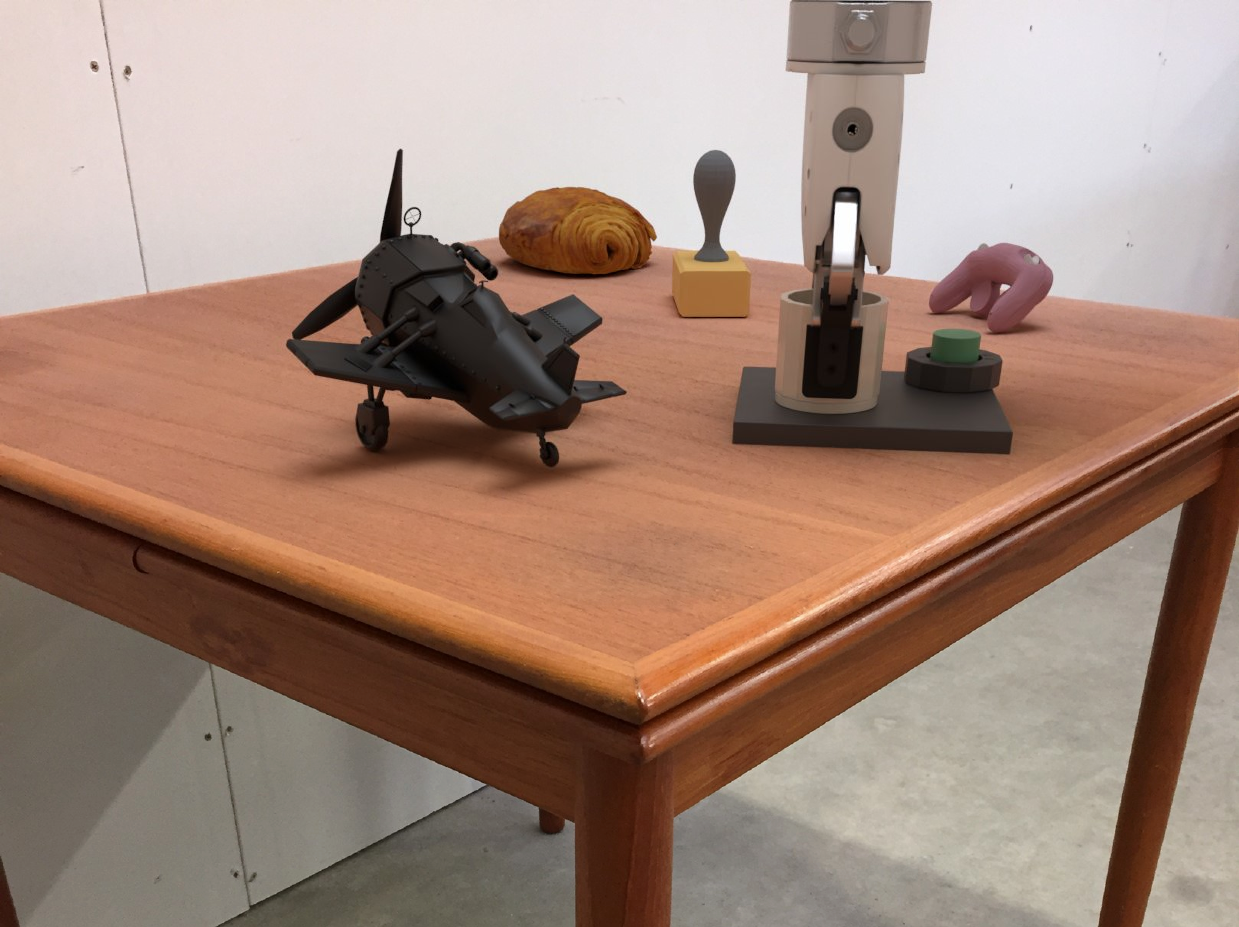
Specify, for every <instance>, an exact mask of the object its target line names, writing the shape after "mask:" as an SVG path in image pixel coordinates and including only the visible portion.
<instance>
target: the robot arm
mask: <svg viewBox="0 0 1239 927" xmlns="http://www.w3.org/2000/svg"><path fill="white" fill-rule="evenodd" d="M788 11H789V12H788V26H787V41H786V60H785V72H788V73H790V72H792V73H796V74H797V73H798V74H807V75H806V77H807V78H806V92H805V106H804V108H805V109H804V121H803V137H802V138H803V142H802V160H801V186H800V189H801V190H800V192H801V193H800V194H801V195H800V198H801V199H800V217H801V218H800V219H801V220H800V221H801V241H802V242H801V244H802V254H803V255H802V256H803V266H804V267H805V268H806V269H807V270H808V271H809V272H810V273H812V280H811V288H814V293H813V307H812V321H811V324H807V328H806V341H805V354H804V367H803V380H802V394H803V395H804V396H805V397H807V398H830V399H853V398H854V397H855V396H856V395H857V388H858V378H859V367H860V357H861V347H862V336H863V326H860V320H861V308H862V295H863V290H864V281H865V280H864V279H865V274H866V271H865V267H866V258H867V261H868V264H869V267H875V269H876V274H877V275H878V276H883V275H885V274H886V273H887V272H888V271H889V270H891V267H892V266H891V264H892V253H893V252H892V251H893V238H894V227H895V217H896V216H895V215H896V205H897V195H898V194H897V193H898V184H899V175H900V173H899V172H900V165H901V164H900V163H901V162H900V161H901V153H902V152H901V151H902V140H903V126H904V112H905V111H904V110H905V109H904V108H905V107H904V106H905V76H906V75H920V74H925V72H926V64H927V62H926V61H927V55H928V47H929V46H928V45H929V37H930V29H931V28H930V27H931V21H932V20H931V19H932V11H933V2H932V0H790V1H789V10H788ZM822 299H823V306H822ZM821 312H822V314H821Z"/></svg>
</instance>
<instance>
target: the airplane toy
mask: <svg viewBox="0 0 1239 927" xmlns="http://www.w3.org/2000/svg"><path fill="white" fill-rule="evenodd" d="M403 161H404V150H403V148H399V149H398V150H397V151H396V154H395V160H394V166H393V170H392V175H391V180H390V185H389V190H388V194H387V198H386V204H385V206H384V213H383V218H382V223H381V227H380V228H381V229H380V235H379V243H378V244H376V245H375V247H374V248H372V249H371V250H370V251H369V252H368V253H367V254H366V255H365V256H364V257H363V258H362V259H361V262H360V263H361V264H360V268H359V270H358V271H359V272H358V275H357V277H355V278H353V279H352V280H350V281H349V282H347V283H346V284H345V285H343V286H342V287H340V288H339V289H337V290H335V291H334V292H333V293H331V294H329V296H327V297H326V298H325V299H324V300H323V301H321V302H320V303H319V304H318V305H317V306H316V307H315V308H314V309H312V311H310V312H309V313H308V314H307V315H306V317H305V318H303V319H302V320H301V322H300V323H299V324H298V325H297V326H296V327H295V328H294V329H293V330H292V331H291V336H292V338H288V339H287V340H286V343H285V347H286V348H287V350H288V351H289V352H291V354H292V355H294V356H295V357H296V358H297V360H299V361H300V362H301V363H302V365H303V366H305V367H306V368H307V369H308V370H309V371H310V372H311V373H312V374H313V375H314V376H316V377H321V378H327V379H332V380H338V381H343V382H348V383H354V384H360V385H364V386H366V390H367V398H365V399H363V401H362V402H360V403H357V407H356V413H355V418H354V421H355V423H354V425H355V432H356V434H357V437H358V438H359V442H360V443H361V445H363V448H366V449H367V450H369V451H373V452H376V451H380V450H382V449H383V448H385V447H386V445H387V443H388V440H389V428H390V426H391V420H390V419H391V418H390V409H389V406H388V405H386V404H385V402H384V401H383V400H384V397H385V394H386V391H390V392H394V391H397V392H400V393H401V394H402V395H403V396H404V397H405V398H407V399H418V400H428V401H431V400H432V398H436V399H440V400H441V399H442V400H447V401H452V402H454V403H455V404H457V405H459V407H461V408H462V409H464V410H465V411H466V412H468V413H470V414H471V415H472V416H473V417H475V418H476V419H478V420H479V421H480V422H482V423H483V424H485V425H487V426H489V427H490V428H493V429H496V430H498V431H505V432H506V431H507V432H517V433H526V434H527V433H528V434H535V435H536V437H537V438H538V439H539V441H538V444H539V446H540V448H539V458H540V459H541V461H542V463H543V464H544V466H546V467H547V468H555V467H556V466H557V465H558V464H559V461H560V452H559V449H558V446H556V444H555V443H554V442H552V441H547V439H546V438H545V437H546V436H547V434H546V433H552V432H559V431H563V430H568V429H569V428H570V426H571V425H572V424H573V423H574V421H575V420H576V418H577V417H578V416H579V414H580V412H581V411H582V406H583V405H585V404H588V403H593V402H594V403H595V402H597V401H603V400H608V399H612V398H616V397H621V396H625V395H626V394H627V392H628V391H626V390H625V389H624V388H622V386H619V384H616V383H615V382H614V381H613V380H587V379H585V380H584V379H576V375H577V370H578V366H579V362H580V357H581V355H580V354H579V353H578V352H577V351H575V349H573V348H572V347H571V346H574V344H576V343H577V342H579V341H580V340H581V339H583V338H584V337H585V336H587V335H588V334H590V333H591V332H593V331H594V330H596V329H597V328H598V327H600V326H601V325H602V324H603V317H602V316H601V315H600V314H599V313H598V312H596V311H595V310H593V309H592V308H591V307H590V306H588V305H587V304H586V303H585V302H584V301H582V299H580V298H579V297H578V296H576V295H575V294H574V293H573V294H569V295H568V296H565V297H562V298H560V299H558V300H555V301H553V302H551V303H548V304H545V305H543V306H541V307H538V308H536V309H533V310H531V311H528V312H526V313H524V314H520V313H518V312H517V311H511V310H510V309H509V308H508V307H507V305H506V304H505V302H504V300H503V299H502V297H501V296H500V294H499V293H497V292H496V291H493V290H492V289H490V288H488V287H486V286H485V284H484V283H489V282H490V281H495V280H496V279H497V278H498V277H499V269H498V267H497V266H496V265H494V264H492V262H491V260H490V259H489V258H488V257H487V256H485V255H484V254H482V253H481V252H480V250H479V249H477V248H476V246H473V245H468V244H467V245H466V244H465V243H463V242H460V241H457V242H456V241H455V242H452V243H451V244H450V245H449V244H448V243H445V244H443V243H441V242H440V240H439V238H438V237H434V235H432V234H418V233H413V227H414V226H416V225H417V224H418V223H419V222H420V221H421V218H422V211H421V209H420V208H419V207H417V206H411V207H409V208H408V209H407V210H406V211H405V212H404V215H403V165H404V164H403ZM413 210H417V212H418V213H417V214H415V215H414V216H413V214H412V212H411V211H413ZM409 213H410V217H407V214H409ZM415 216H418V218H417V220H415V218H414V217H415ZM406 217H407V218H406ZM411 218H412V219H413V221H414V222H407V220H408V219H411ZM403 222H404V225H405V226H408V227H409V233H406V234H402V228H403V227H402V224H403ZM467 262H468V264H469V265H470V266H471V268H473V269H474V270H476V271H478V272H479V273H480V274H481V275H482V276H483V277H484V278H485V279H486V280H484V279H481V280H480V281H478V284H479V285H477V283H475V280H476V274H475V273H474V272H473V271H472V270H471V268H470V267H468V264H467ZM356 307H358V309H359V311H360V315H361V317H362V321H363V323H364V326H365V328H366V330H367V331H369V333H370V335H371V336H370V337H369V336H363V337H362V338H361V339H360V343H348V342H347V343H346V342H337V341H336V342H334V341H321V340H310V339H306V338H308V337H310V336H313V335H314V334H316V333H318V332H321V331H322V330H324V329H326V328H327V327H329V326H331V325H332V324H334V323H335V322H337V321H338V320H340V319H342V318H344V317H346V315H347V314H349V313H350V312H351V311H352V310H354V309H355V308H356ZM374 387H376V388H379V389H378V392H377V395H376V397H375V390H374Z"/></svg>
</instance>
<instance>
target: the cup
mask: <svg viewBox="0 0 1239 927" xmlns="http://www.w3.org/2000/svg"><path fill="white" fill-rule="evenodd" d="M813 293H814V288H812V287H809V288H800V289H793V290H789V291H786V292H784V293H781V294H780V300H779V317H778V331H777V332H778V333H777V347H776V348H777V350H776V365H775V367H776V379H775V396H774V399H775V401H776V403H778V404H779V405H781V406H783V407H786V408H789V409H792V410H797V411H802V412H809V413H819V414H847V413H856V412H862V411H866V410H869V409H872V408H874V407H875V406H876V405H877V403H878V395H879V391H880V382H881V372H882V371H883V360H884V350H885V343H886V342H885V341H886V340H885V339H886V332H887V323H888V313H889V297H887V296H886V295H883V294H881V293H879V292H874V291H869V290H865V289H863V295H862V308H861V320H860V326H863V336H862V347H861V357H860V367H859V378H858V388H857V395H856V396H855V397H854V398H853V399H830V398H807V397H805V396H804V395H803V394H802V380H803V367H804V354H805V341H806V328H807V324H811V321H812V307H813ZM822 306H823V299H822ZM821 314H822V312H821Z"/></svg>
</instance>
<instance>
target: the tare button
mask: <svg viewBox="0 0 1239 927" xmlns="http://www.w3.org/2000/svg"><path fill="white" fill-rule="evenodd" d="M981 341H982V334H981V333H980V332H978V331H975V330H972V329H965V328H940V329H937V330H934V331H933V332H932V338H931V346H930V347H931V354H930V359H933V360H937V361H944V362H955V363H969V362H977V361H978V356H979V349H981Z"/></svg>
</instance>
